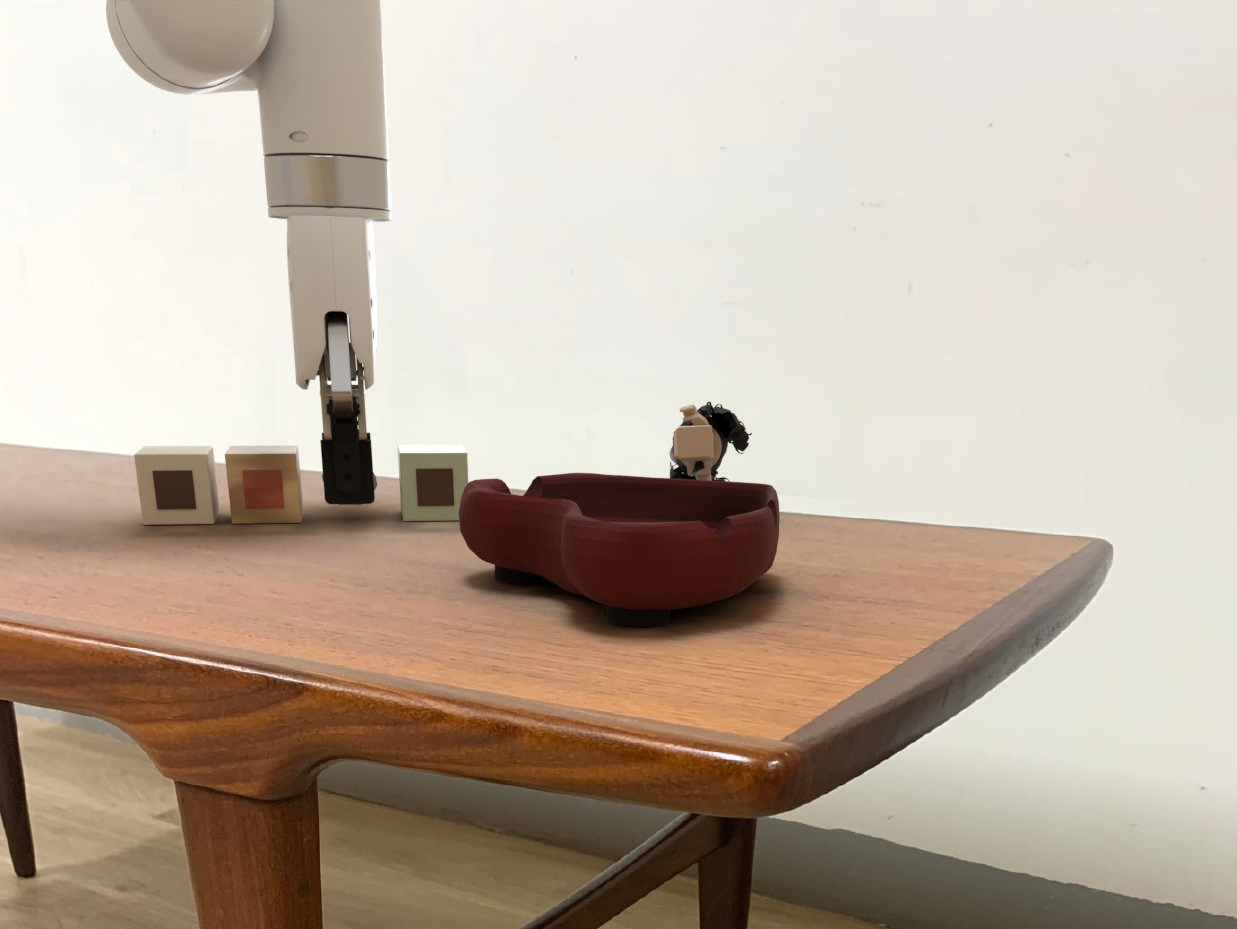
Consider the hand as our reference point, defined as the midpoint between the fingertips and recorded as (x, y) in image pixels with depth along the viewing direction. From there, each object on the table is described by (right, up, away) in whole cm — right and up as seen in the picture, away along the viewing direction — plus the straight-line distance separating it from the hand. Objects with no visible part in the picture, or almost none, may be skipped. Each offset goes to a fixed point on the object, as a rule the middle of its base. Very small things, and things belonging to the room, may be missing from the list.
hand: (350, 495), depth 89 cm
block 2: (-5, -2, 0) cm, 6 cm away
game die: (0, -1, 0) cm, 1 cm away
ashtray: (+20, -10, -18) cm, 29 cm away
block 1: (-11, -2, -2) cm, 11 cm away
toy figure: (+22, +5, +7) cm, 23 cm away
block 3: (+5, -1, +2) cm, 6 cm away
